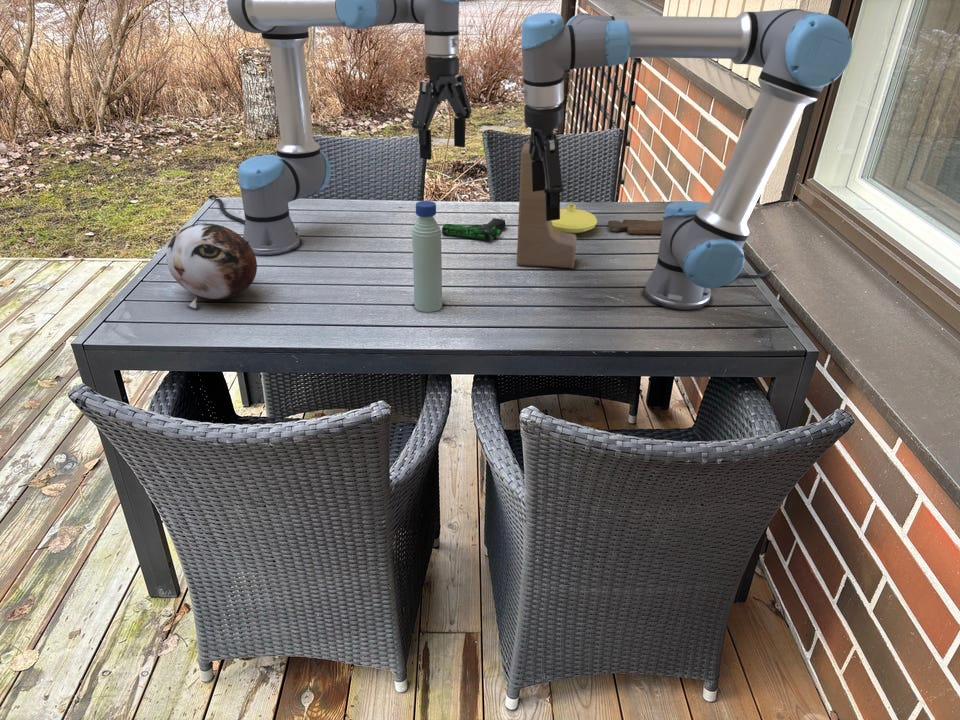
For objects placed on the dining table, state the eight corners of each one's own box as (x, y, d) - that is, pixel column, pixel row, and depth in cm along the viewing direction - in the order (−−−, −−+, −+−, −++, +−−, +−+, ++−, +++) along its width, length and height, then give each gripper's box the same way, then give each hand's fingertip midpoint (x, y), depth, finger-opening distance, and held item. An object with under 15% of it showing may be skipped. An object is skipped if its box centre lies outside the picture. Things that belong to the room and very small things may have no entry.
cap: (436, 217, 153) (435, 207, 152) (415, 217, 153) (415, 207, 152) (436, 210, 157) (435, 200, 156) (416, 210, 157) (416, 200, 156)
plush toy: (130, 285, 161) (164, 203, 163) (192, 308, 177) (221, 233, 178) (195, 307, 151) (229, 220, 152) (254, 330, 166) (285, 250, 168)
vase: (559, 216, 220) (561, 193, 217) (605, 227, 212) (608, 204, 209) (532, 230, 209) (533, 207, 206) (580, 242, 201) (582, 218, 198)
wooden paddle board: (699, 237, 207) (691, 225, 216) (700, 231, 206) (692, 220, 215) (610, 234, 207) (606, 222, 216) (611, 228, 207) (607, 217, 215)
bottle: (442, 312, 164) (440, 210, 151) (414, 312, 163) (410, 210, 151) (442, 299, 169) (440, 200, 157) (415, 300, 169) (411, 200, 157)
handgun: (511, 219, 210) (493, 234, 198) (511, 228, 211) (492, 244, 199) (461, 212, 215) (440, 226, 203) (461, 221, 217) (440, 236, 204)
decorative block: (573, 269, 185) (584, 153, 170) (516, 265, 187) (521, 149, 171) (574, 258, 192) (584, 145, 176) (518, 254, 193) (523, 142, 178)
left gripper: (421, 63, 147) (423, 167, 158) (486, 50, 165) (485, 144, 176) (392, 60, 150) (397, 161, 161) (460, 47, 168) (460, 139, 179)
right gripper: (512, 84, 146) (517, 181, 159) (538, 130, 127) (540, 235, 140) (548, 80, 146) (550, 176, 160) (579, 124, 127) (578, 230, 140)
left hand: (443, 152), depth 168 cm, fingers open, 13 cm apart
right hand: (545, 204), depth 150 cm, fingers open, 13 cm apart
